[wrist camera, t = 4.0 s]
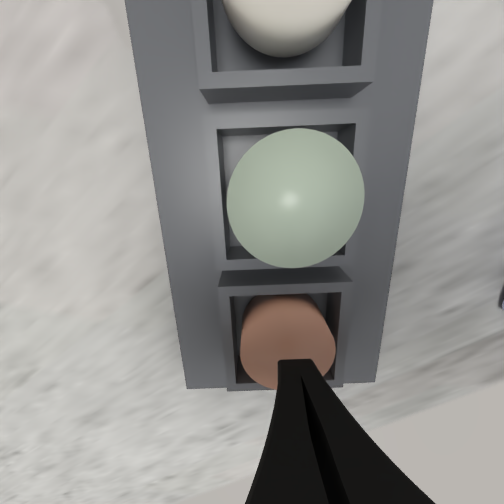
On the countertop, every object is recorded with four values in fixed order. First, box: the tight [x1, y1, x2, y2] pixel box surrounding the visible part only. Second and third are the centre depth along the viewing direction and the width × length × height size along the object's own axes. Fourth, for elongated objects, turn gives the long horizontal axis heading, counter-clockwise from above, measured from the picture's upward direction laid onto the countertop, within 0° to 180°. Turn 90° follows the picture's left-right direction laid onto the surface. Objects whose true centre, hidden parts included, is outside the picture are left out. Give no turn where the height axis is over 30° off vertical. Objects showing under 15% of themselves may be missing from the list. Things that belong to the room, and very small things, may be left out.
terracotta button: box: [240, 294, 336, 390], centre depth 12 cm, size 4×4×2 cm
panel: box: [125, 0, 433, 391], centre depth 12 cm, size 12×24×4 cm, turn 2°
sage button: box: [227, 128, 365, 268], centre depth 9 cm, size 4×4×2 cm
